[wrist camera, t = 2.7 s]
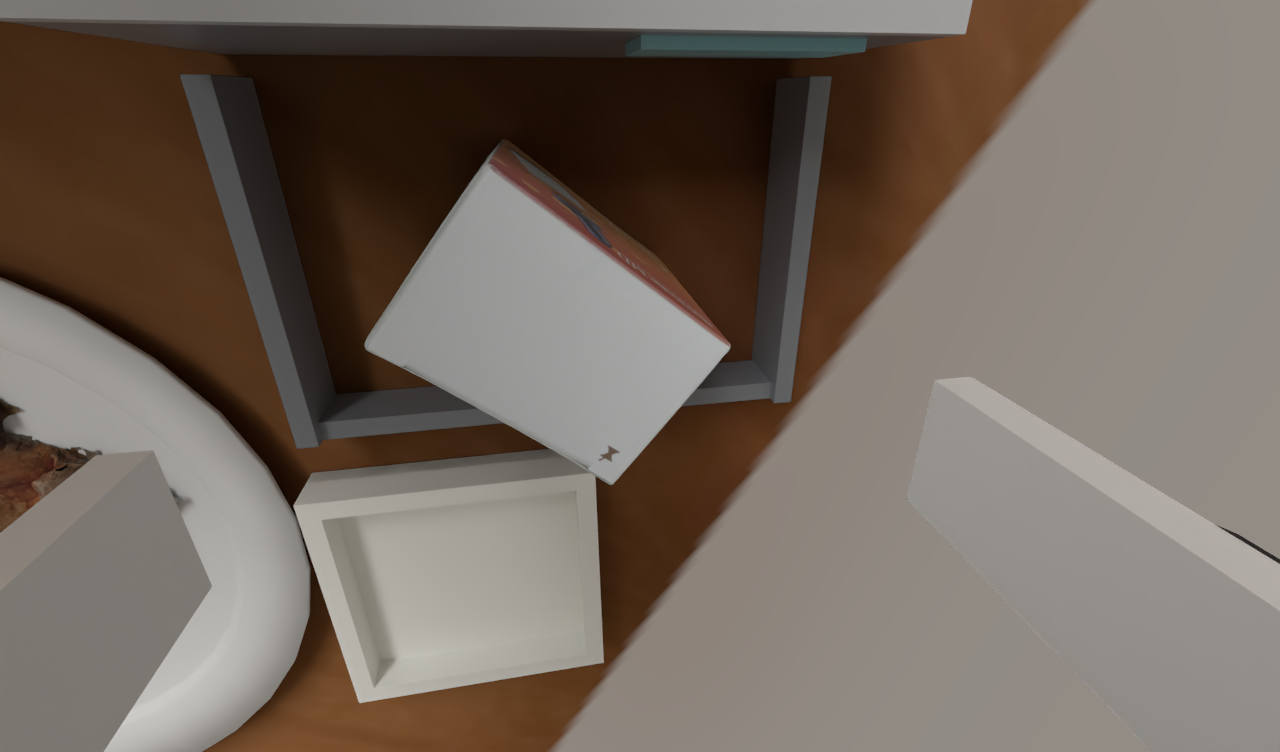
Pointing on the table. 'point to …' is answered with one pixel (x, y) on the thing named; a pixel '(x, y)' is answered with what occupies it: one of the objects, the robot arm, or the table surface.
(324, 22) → the printer
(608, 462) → the small box
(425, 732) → the table surface
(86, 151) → the table surface
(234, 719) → the plated food
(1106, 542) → the robot arm
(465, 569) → the tray
